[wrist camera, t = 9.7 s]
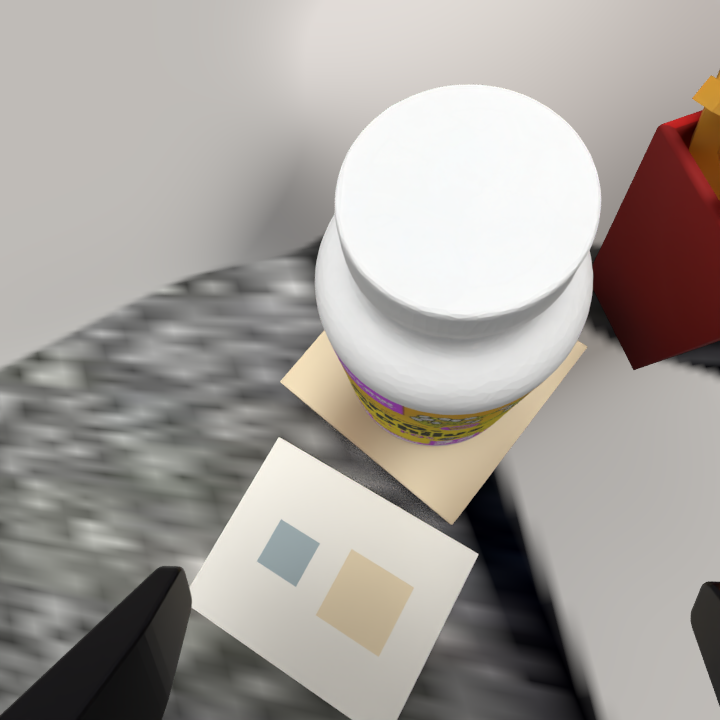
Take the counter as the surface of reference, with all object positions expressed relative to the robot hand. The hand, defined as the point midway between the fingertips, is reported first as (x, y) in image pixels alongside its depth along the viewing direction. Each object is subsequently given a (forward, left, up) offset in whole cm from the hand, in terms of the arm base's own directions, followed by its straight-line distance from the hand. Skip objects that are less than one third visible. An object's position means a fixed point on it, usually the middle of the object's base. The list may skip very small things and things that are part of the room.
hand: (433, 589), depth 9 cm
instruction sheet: (+2, +4, -14) cm, 14 cm away
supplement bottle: (+4, -6, -11) cm, 13 cm away
